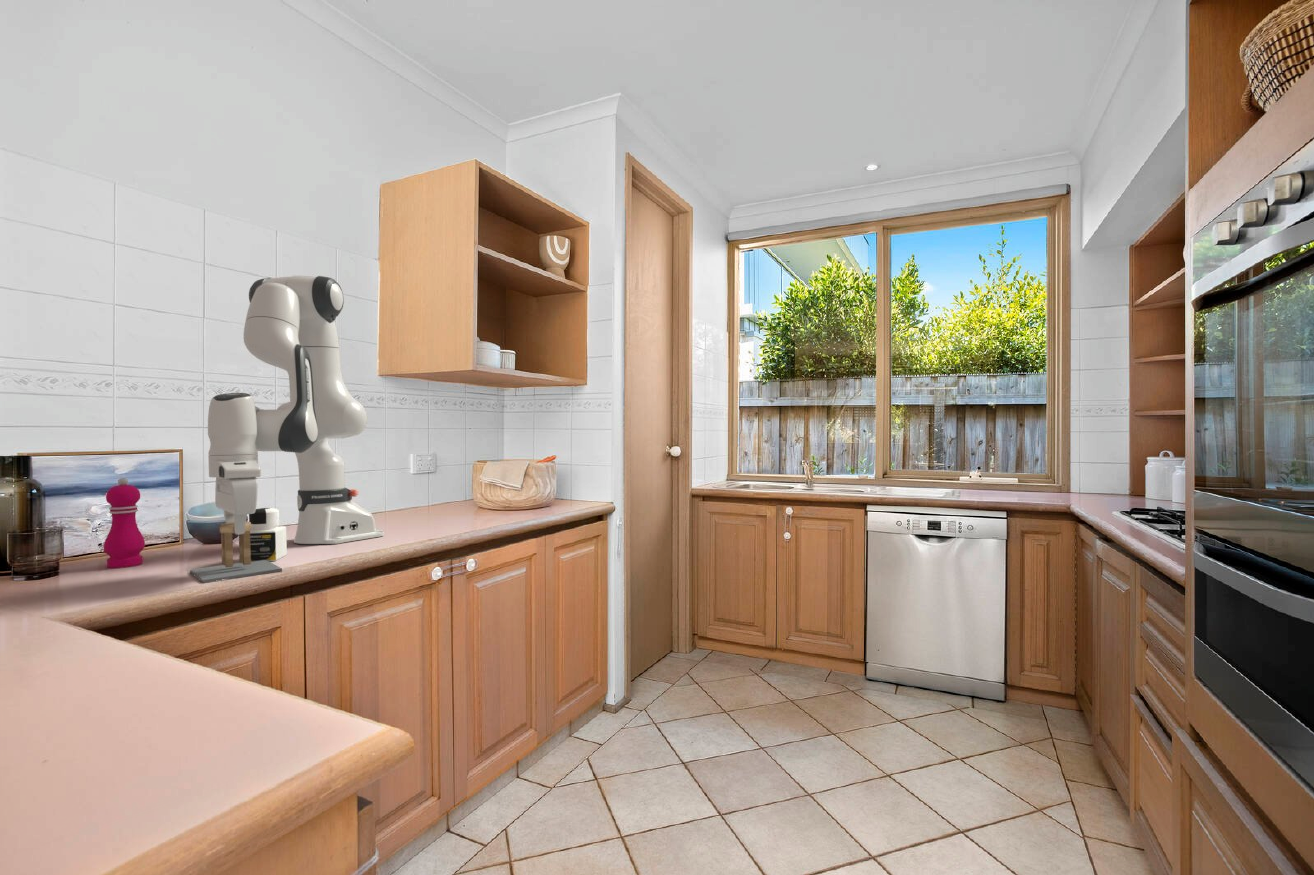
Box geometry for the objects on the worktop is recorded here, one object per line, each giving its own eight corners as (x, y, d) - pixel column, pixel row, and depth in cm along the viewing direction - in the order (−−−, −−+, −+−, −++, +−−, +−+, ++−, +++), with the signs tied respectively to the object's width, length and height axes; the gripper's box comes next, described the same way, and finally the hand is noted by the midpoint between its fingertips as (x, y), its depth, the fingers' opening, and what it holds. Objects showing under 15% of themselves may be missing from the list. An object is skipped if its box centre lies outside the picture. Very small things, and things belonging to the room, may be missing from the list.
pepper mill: (153, 562, 147) (151, 476, 147) (124, 568, 140) (122, 479, 140) (125, 561, 148) (123, 476, 148) (95, 568, 141) (92, 479, 140)
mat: (264, 562, 145) (264, 559, 145) (282, 571, 135) (282, 568, 135) (190, 572, 135) (190, 569, 135) (203, 583, 126) (202, 580, 125)
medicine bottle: (241, 563, 145) (240, 511, 144) (254, 557, 152) (253, 507, 151) (275, 561, 146) (274, 509, 146) (287, 555, 153) (286, 506, 153)
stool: (218, 564, 135) (217, 523, 135) (248, 560, 139) (247, 520, 139) (223, 568, 132) (222, 526, 131) (254, 564, 135) (253, 523, 135)
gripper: (206, 467, 140) (207, 528, 140) (226, 470, 126) (228, 539, 126) (239, 465, 145) (241, 525, 145) (263, 469, 130) (264, 535, 130)
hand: (235, 532), depth 135 cm, fingers closed on stool, 6 cm apart
